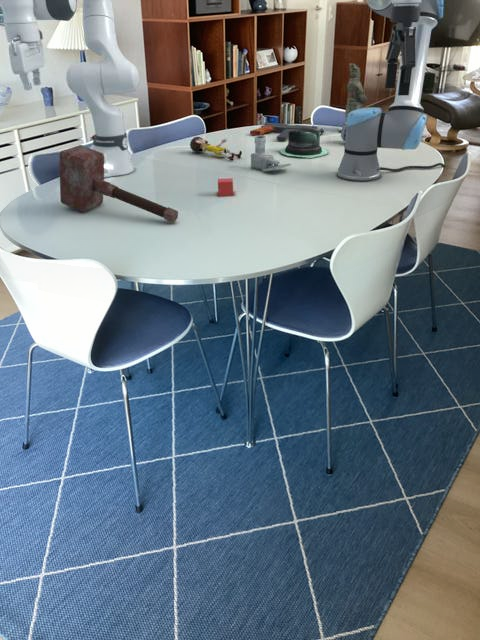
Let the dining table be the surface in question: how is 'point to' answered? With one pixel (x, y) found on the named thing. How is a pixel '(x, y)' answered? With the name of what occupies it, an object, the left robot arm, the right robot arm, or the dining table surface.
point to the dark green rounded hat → (304, 143)
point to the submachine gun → (280, 129)
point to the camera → (264, 157)
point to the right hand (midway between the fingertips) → (396, 91)
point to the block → (225, 187)
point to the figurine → (212, 148)
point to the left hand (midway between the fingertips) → (33, 87)
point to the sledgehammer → (96, 184)
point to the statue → (354, 91)
